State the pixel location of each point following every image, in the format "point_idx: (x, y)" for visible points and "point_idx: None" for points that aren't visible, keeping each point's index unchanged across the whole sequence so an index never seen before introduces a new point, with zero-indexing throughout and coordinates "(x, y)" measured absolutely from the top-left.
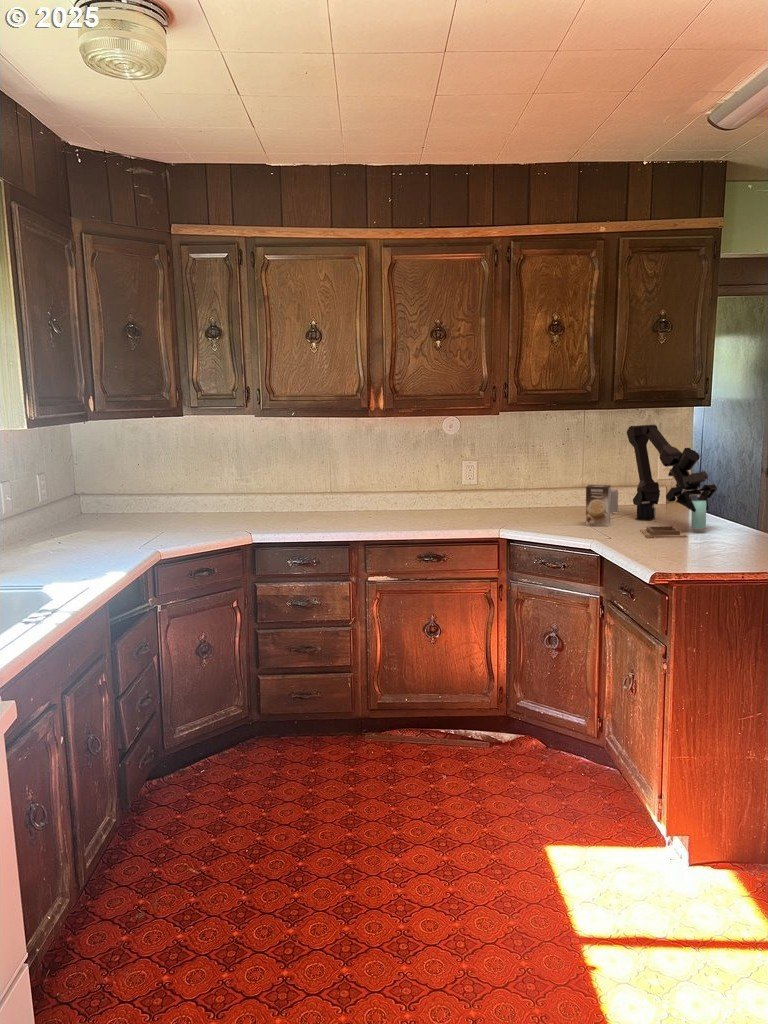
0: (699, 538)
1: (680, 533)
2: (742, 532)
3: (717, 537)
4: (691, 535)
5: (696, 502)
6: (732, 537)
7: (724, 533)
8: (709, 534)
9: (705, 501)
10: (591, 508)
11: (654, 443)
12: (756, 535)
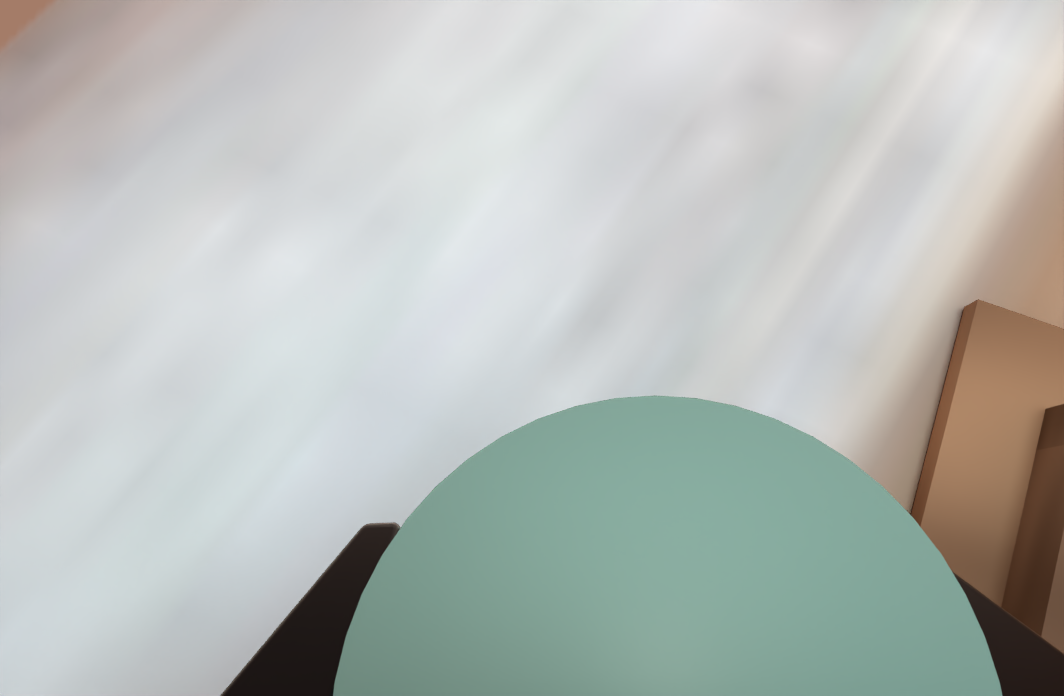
0: (830, 187)
1: (980, 518)
2: (18, 307)
3: (571, 148)
4: (819, 424)
5: (908, 534)
6: (398, 72)
7: (291, 351)
8: (533, 378)
9: (493, 460)
10: None
11: None
12: (39, 58)
